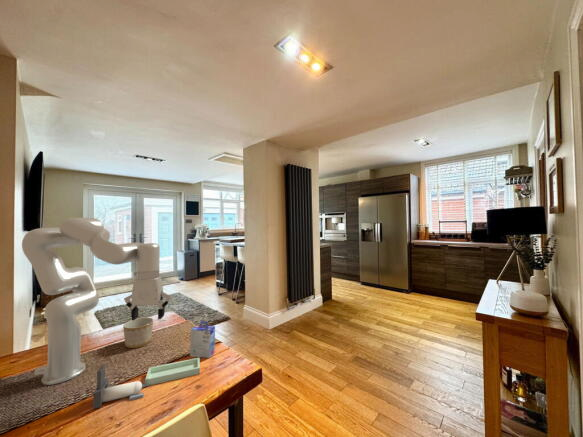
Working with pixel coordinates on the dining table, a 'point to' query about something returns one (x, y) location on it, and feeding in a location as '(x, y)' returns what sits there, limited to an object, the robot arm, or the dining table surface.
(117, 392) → the capsule
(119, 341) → the dining table surface
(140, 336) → the planter
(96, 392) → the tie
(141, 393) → the pair of grey bars
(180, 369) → the tray
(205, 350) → the ink cartridge box
